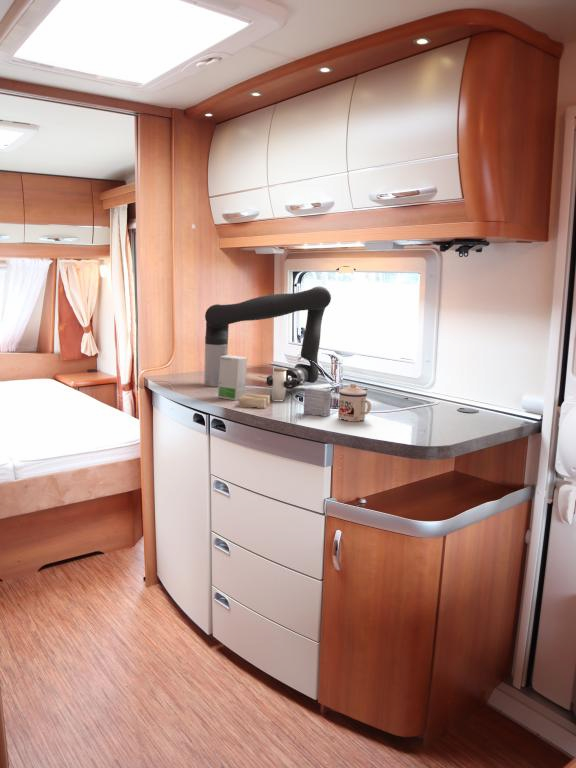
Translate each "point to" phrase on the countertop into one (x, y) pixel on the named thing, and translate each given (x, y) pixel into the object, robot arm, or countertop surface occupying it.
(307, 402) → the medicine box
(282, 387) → the spice jar
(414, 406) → the countertop surface
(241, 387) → the skincare box
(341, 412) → the teacup with lid
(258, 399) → the plinth
